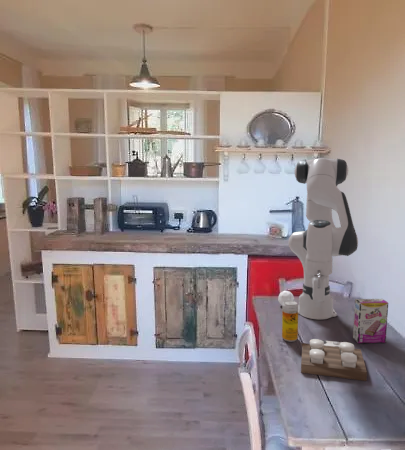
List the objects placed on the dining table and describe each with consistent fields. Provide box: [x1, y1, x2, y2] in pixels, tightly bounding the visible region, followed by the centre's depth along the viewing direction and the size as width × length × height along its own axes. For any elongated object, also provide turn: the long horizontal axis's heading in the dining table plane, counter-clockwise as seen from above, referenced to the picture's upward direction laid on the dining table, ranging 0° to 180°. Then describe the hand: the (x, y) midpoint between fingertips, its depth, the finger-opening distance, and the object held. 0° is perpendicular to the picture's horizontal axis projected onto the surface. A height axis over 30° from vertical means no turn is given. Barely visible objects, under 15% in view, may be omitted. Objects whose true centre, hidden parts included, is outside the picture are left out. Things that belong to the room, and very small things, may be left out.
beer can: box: [281, 300, 299, 343], centre depth 147 cm, size 6×6×15 cm
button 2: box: [339, 341, 355, 354], centre depth 129 cm, size 5×5×4 cm
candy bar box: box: [352, 298, 389, 344], centre depth 144 cm, size 11×5×16 cm, turn 92°
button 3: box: [310, 349, 325, 364], centre depth 125 cm, size 5×5×4 cm
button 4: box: [341, 352, 357, 368], centre depth 122 cm, size 5×5×4 cm
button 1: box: [309, 338, 324, 350], centre depth 132 cm, size 5×5×4 cm
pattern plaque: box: [321, 339, 342, 347], centre depth 141 cm, size 7×9×1 cm
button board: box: [300, 342, 368, 382], centre depth 127 cm, size 16×20×3 cm
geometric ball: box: [277, 290, 295, 306], centre depth 185 cm, size 8×8×8 cm
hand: (317, 305), depth 130 cm, fingers closed
